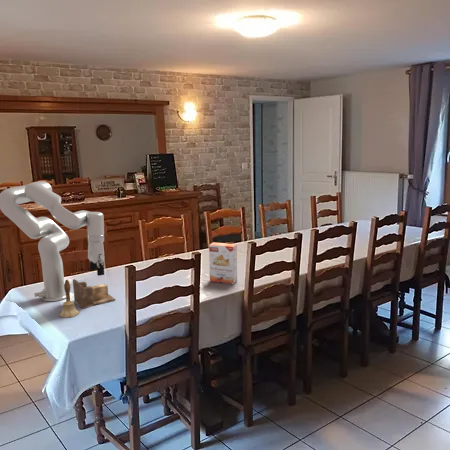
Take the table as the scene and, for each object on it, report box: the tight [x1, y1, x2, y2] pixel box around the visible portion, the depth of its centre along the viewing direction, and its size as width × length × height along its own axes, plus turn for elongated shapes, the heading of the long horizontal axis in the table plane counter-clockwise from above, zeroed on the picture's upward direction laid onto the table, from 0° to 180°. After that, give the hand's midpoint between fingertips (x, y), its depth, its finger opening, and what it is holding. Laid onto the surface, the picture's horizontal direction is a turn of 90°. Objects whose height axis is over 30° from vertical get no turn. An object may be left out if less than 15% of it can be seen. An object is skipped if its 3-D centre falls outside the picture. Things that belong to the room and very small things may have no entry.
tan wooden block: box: [91, 283, 109, 300], centre depth 220 cm, size 12×4×6 cm, turn 125°
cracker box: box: [208, 241, 238, 284], centre depth 244 cm, size 14×6×21 cm, turn 68°
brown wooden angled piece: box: [72, 278, 116, 309], centre depth 219 cm, size 16×12×11 cm
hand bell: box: [59, 279, 80, 318], centre depth 203 cm, size 8×8×16 cm
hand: (97, 272), depth 219 cm, fingers open, 9 cm apart
